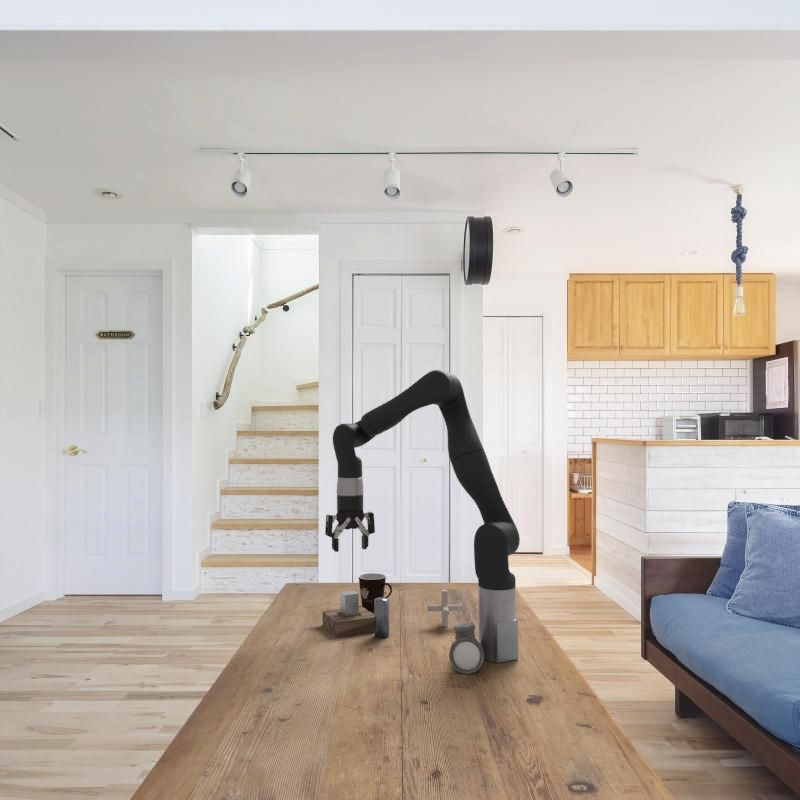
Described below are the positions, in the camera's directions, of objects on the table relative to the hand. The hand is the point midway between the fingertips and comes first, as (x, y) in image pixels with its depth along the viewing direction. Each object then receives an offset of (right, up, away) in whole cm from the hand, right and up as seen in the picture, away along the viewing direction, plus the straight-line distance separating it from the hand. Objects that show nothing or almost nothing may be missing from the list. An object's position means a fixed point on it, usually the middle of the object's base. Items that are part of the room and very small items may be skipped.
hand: (350, 550), depth 185 cm
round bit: (+9, -22, -8) cm, 25 cm away
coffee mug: (+6, -23, +18) cm, 29 cm away
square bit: (0, -22, -1) cm, 22 cm away
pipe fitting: (+30, -21, -30) cm, 47 cm away
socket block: (0, -22, -1) cm, 22 cm away
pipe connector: (+27, -22, +1) cm, 35 cm away
